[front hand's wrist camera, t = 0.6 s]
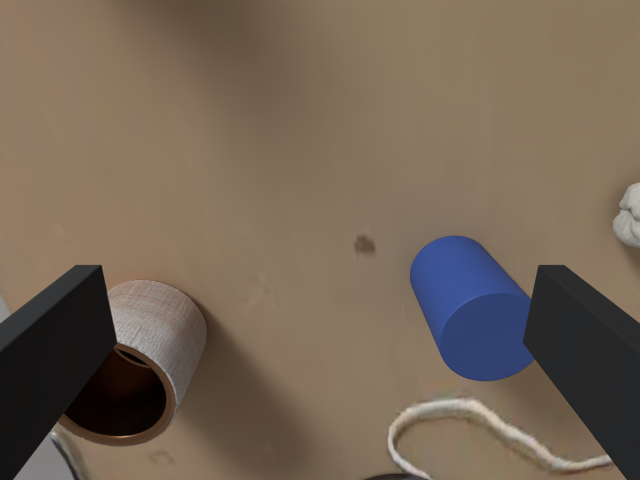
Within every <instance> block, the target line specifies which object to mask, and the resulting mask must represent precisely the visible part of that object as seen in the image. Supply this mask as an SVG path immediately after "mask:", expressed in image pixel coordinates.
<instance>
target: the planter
mask: <svg viewBox="0 0 640 480" xmlns="http://www.w3.org/2000/svg"><path fill="white" fill-rule="evenodd" d="M107 294H108V299H109V304H110V308H111V313H112V318H113V323H114V327H115V332H116V337H117V342H118V343H117V344H116V345H115V346H114V348H113V349H112V350H111V352H110V353H109V354H108V356H107V357H106V358H105V360H104V361H103V362H102V364H101V365H100V366H99V368H98V369H97V370H96V371H95V373H94V374H93V375H92V377H91V378H90V379H89V381H88V382H87V383H86V385H85V386H84V387H83V389H82V390H81V391H80V392H79V394H78V395H77V396H76V398H75V399H74V400H73V402H72V403H71V404H70V406H69V407H68V408H67V410H66V411H65V412H64V413H63V415H62V416H61V417H60V419H59V420H58V421H57V423H58V424H60V425H61V426H62V427H63V428H65V429H66V430H67V431H69V432H71V433H72V434H74V435H76V436H78V437H80V438H82V439H85V440H87V441H90V442H93V443H97V444H101V445H106V446H116V447H123V446H134V445H139V444H142V443H146V442H148V441H151V440H153V439H155V438H156V437H158V436H159V435H161V434H162V433H163V432H164V431H165V430H166V429H167V428H168V427H169V426H170V425H171V423H172V421H173V420H174V418H175V416H176V413H177V411H178V409H179V406H180V404H181V402H182V399H183V397H184V395H185V392H186V390H187V388H188V386H189V383H190V381H191V379H192V377H193V374H194V372H195V370H196V368H197V366H198V363H199V361H200V359H201V357H202V354H203V352H204V349H205V346H206V341H207V327H206V322H205V319H204V317H203V315H202V313H201V311H200V309H199V308H198V306H197V305H196V304H195V303H194V302H193V301H192V299H190V298H189V297H188V296H187V295H186V294H184V293H183V292H182V291H180V290H178V289H177V288H175V287H173V286H171V285H168V284H165V283H162V282H159V281H154V280H132V281H128V282H124V283H121V284H119V285H117V286H115V287H113V288H112V289H110V290H109V291H108V292H107Z"/></svg>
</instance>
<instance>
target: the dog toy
mask: <svg viewBox="0 0 640 480" xmlns="http://www.w3.org/2000/svg"><path fill="white" fill-rule="evenodd" d="M619 206H620V208H621V210H620V213H619V214H618V216H617V217H616V218H615V219H614V222H613V231H614V233H615V235H616V236H617V237H618V238H619V239H620V240H621V241H622V242H623V243H624V244H626V245H628V246H630V247H633V248H637V249H640V183H635V184H632V185H631V186H629V187H628V189H627V190H626V192H625V194H624V196H623V198H622V200H621V202H620V204H619Z"/></svg>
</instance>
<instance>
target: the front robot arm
mask: <svg viewBox="0 0 640 480" xmlns="http://www.w3.org/2000/svg"><path fill="white" fill-rule="evenodd" d="M117 343H118V342H117V337H116V332H115V327H114V323H113V318H112V313H111V308H110V304H109V299H108V294H107V289H106V285H105V280H104V275H103V270H102V265H75V266H74V267H73V268H71V269H70V270H69V271H68V272H66V273H65V274H64V275H62V276H61V277H60V278H59V279H57V280H56V281H55V282H53V283H52V284H51V285H49V286H48V287H47V288H46V289H44V290H43V291H42V292H40V293H39V294H38V295H36V296H35V297H34V298H33V299H31V300H30V301H29V302H27V303H26V304H25V305H24V306H22V307H21V308H20V309H18V310H17V311H16V312H14V313H13V314H12V315H11V316H9V317H8V318H7V319H5V320H4V321H3V322H2V323H0V480H13V479H14V478H15V476H16V475H17V474H18V473H19V471H20V470H21V469H22V467H23V466H24V465H25V463H26V462H27V461H28V459H29V458H30V457H31V455H32V454H33V453H34V452H35V450H36V449H37V448H38V446H39V445H40V444H41V442H42V441H43V440H44V438H45V437H46V436H47V434H48V433H49V432H50V431H51V429H52V428H53V427H54V425H55V424H56V423H57V421H58V420H59V419H60V417H61V416H62V415H63V413H64V412H65V411H66V410H67V408H68V407H69V406H70V404H71V403H72V402H73V400H74V399H75V398H76V396H77V395H78V394H79V392H80V391H81V390H82V389H83V387H84V386H85V385H86V383H87V382H88V381H89V379H90V378H91V377H92V375H93V374H94V373H95V371H96V370H97V369H98V368H99V366H100V365H101V364H102V362H103V361H104V360H105V358H106V357H107V356H108V354H109V353H110V352H111V350H112V349H113V348H114V346H115V345H116V344H117ZM522 343H523V344H524V345H525V346H526V348H527V349H528V350H529V352H530V353H531V354H532V356H533V357H534V358H535V360H536V361H537V362H538V364H539V365H540V366H541V368H542V369H543V370H544V371H545V373H546V374H547V375H548V377H549V378H550V379H551V381H552V382H553V383H554V385H555V386H556V387H557V389H558V390H559V391H560V392H561V394H562V395H563V396H564V398H565V399H566V400H567V402H568V403H569V404H570V406H571V407H572V408H573V410H574V411H575V412H576V413H577V415H578V416H579V417H580V419H581V420H582V421H583V423H584V424H585V425H586V427H587V428H588V429H589V431H590V432H591V433H592V434H593V436H594V437H595V438H596V440H597V441H598V442H599V444H600V445H601V446H602V448H603V449H604V450H605V452H606V453H607V454H608V455H609V457H610V458H611V459H612V461H613V462H614V463H615V465H616V466H617V467H618V469H619V470H620V471H621V473H622V474H623V475H624V477H625V478H626V479H627V480H640V323H638V322H637V321H636V320H635V319H633V318H632V317H631V316H629V315H628V314H627V313H626V312H624V311H623V310H622V309H620V308H619V307H618V306H616V305H615V304H614V303H613V302H611V301H610V300H609V299H607V298H606V297H605V296H604V295H602V294H601V293H600V292H598V291H597V290H596V289H594V288H593V287H592V286H591V285H589V284H588V283H587V282H585V281H584V280H583V279H581V278H580V277H579V276H578V275H576V274H575V273H574V272H572V271H571V270H570V269H569V268H567V267H566V266H565V265H538V270H537V275H536V280H535V285H534V289H533V294H532V299H531V304H530V308H529V313H528V318H527V323H526V327H525V332H524V337H523V342H522ZM366 480H428V479H425V478H422V477H418V476H414V475H407V474H388V475H381V476H376V477H372V478H369V479H366Z"/></svg>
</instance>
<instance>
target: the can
mask: <svg viewBox="0 0 640 480" xmlns="http://www.w3.org/2000/svg"><path fill="white" fill-rule="evenodd" d="M410 281H411V285H412V288H413V290H414V293H415V295H416V298H417V300H418V302H419V305H420V307H421V309H422V312H423V314H424V316H425V319H426V321H427V323H428V326H429V328H430V330H431V333H432V335H433V337H434V340H435V342H436V345H437V347H438V349H439V352H440V354H441V356H442V358H443V360H444V362H445V363H446V364H447V366H448V367H449V368H450V369H451V370H452V371H454V372H455V373H457V374H458V375H460V376H462V377H465V378H468V379H472V380H477V381H493V380H499V379H503V378H506V377H509V376H511V375H514V374H516V373H518V372H519V371H521V370H522V369H524V368H525V367H527V366H528V365H529V364H530V363H531V362H532V361H533V360H534V359H535V358H534V357H533V356H532V354H531V353H530V352H529V350H528V349H527V348H526V346H525V345H524V344H523V343H522V342H523V337H524V332H525V327H526V323H527V318H528V313H529V308H530V304H531V299H530V297H529V296H528V295H527V294H526V293H525V292H524V291H523V290H522V289H521V288H520V287H519V286H518V285H517V283H516V282H515V281H514V280H513V279H512V278H511V277H510V276H509V275H508V274H507V273H506V272H505V270H504V269H503V268H502V267H501V266H500V265H499V264H498V263H497V262H496V261H495V260H494V259H493V258H492V256H491V255H490V254H489V253H488V252H487V251H486V250H485V249H484V248H483V247H482V246H481V245H480V244H479V243H478V242H476V241H474V240H472V239H470V238H467V237H462V236H448V237H443V238H440V239H437V240H435V241H433V242H431V243H430V244H428V245H427V246H425V247H424V248H423V249H422V250H421V251H420V252H419V253H418V255H417V256H416V258H415V260H414V261H413V264H412V267H411V271H410Z"/></svg>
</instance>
